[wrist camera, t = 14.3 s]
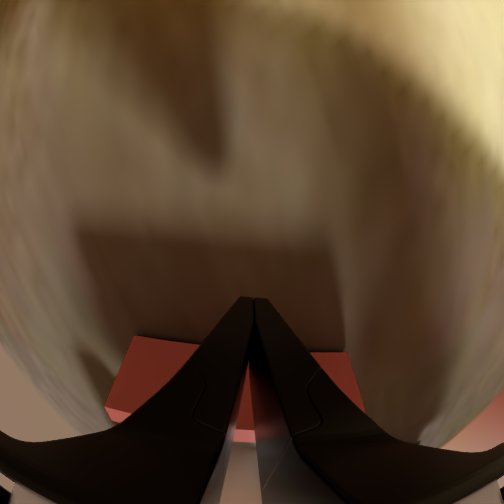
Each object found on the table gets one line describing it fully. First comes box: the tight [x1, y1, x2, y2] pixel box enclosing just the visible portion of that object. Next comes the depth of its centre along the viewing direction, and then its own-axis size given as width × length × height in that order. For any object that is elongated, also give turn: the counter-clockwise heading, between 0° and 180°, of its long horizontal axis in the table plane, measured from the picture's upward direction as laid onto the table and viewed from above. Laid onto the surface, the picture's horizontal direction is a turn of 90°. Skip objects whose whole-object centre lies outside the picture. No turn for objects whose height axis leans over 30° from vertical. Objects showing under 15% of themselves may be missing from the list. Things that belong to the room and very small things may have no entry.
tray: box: [104, 335, 366, 450], centre depth 15 cm, size 11×17×4 cm, turn 174°
